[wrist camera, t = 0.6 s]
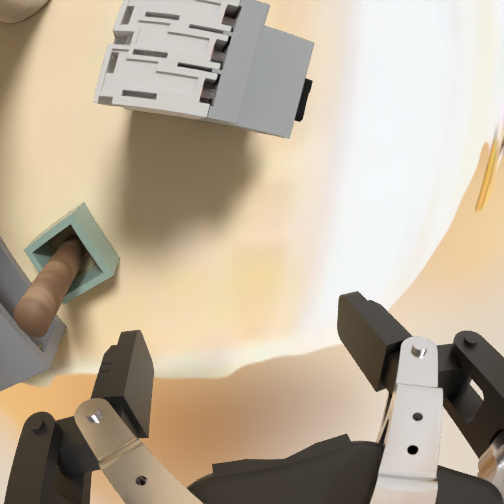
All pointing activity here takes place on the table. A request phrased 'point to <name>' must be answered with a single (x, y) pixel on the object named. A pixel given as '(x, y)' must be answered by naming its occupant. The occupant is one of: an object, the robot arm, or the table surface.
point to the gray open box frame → (12, 337)
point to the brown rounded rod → (50, 288)
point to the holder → (91, 239)
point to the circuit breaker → (206, 64)
